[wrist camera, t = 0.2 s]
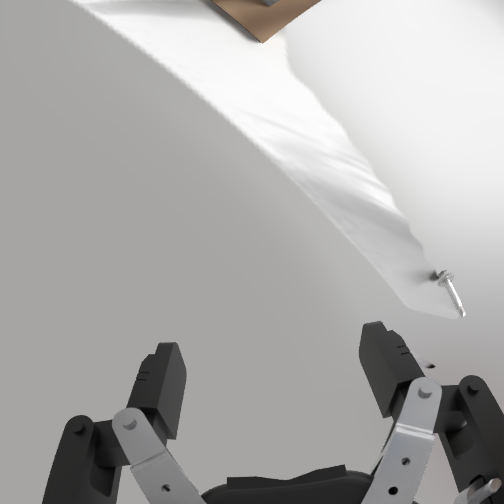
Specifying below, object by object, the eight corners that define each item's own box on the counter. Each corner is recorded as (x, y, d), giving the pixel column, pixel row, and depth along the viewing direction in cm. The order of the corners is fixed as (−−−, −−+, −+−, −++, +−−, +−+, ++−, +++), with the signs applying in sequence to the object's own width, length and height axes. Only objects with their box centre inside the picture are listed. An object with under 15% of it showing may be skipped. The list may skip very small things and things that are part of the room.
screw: (434, 282, 62) (434, 272, 59) (449, 275, 61) (450, 264, 58) (454, 325, 53) (456, 316, 50) (471, 316, 51) (473, 307, 48)
